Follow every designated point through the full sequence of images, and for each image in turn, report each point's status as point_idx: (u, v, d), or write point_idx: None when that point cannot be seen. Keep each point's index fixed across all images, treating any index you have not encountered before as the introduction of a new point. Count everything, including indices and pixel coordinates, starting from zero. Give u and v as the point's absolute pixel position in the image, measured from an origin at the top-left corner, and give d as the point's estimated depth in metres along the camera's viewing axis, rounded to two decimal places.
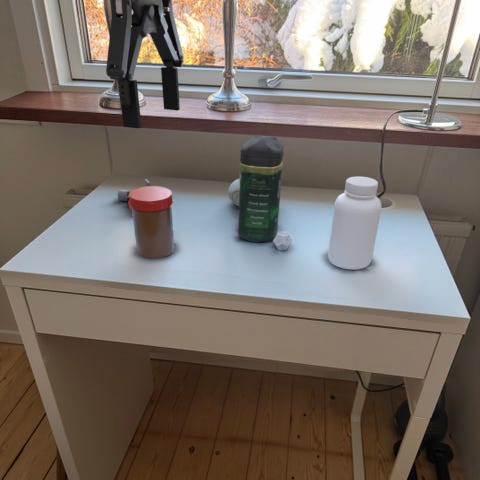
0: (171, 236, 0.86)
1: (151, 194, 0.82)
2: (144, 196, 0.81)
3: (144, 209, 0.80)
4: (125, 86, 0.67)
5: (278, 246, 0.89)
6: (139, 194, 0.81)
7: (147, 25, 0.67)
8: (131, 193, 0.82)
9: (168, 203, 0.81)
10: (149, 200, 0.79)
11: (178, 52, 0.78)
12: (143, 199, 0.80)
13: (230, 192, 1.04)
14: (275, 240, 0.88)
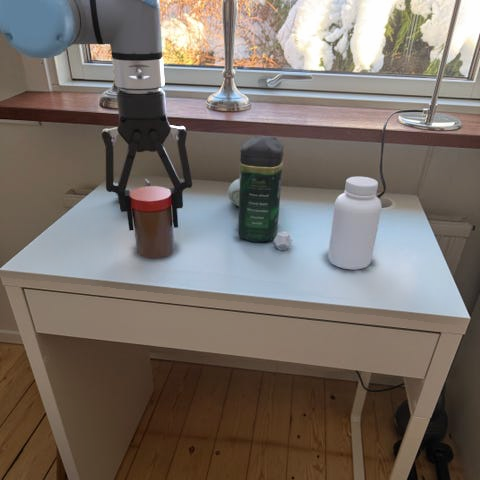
0: (171, 236, 0.86)
1: (151, 194, 0.82)
2: (144, 196, 0.81)
3: (144, 209, 0.80)
4: (118, 197, 0.81)
5: (278, 246, 0.89)
6: (139, 194, 0.81)
7: (130, 146, 0.75)
8: (131, 193, 0.82)
9: (168, 203, 0.81)
10: (149, 200, 0.79)
11: (184, 178, 0.81)
12: (143, 199, 0.80)
13: (230, 192, 1.04)
14: (275, 240, 0.88)
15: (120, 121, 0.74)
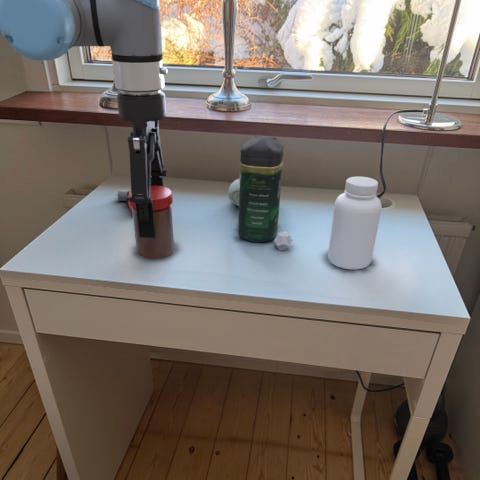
0: (171, 236, 0.86)
1: (153, 192, 0.82)
2: (158, 194, 0.81)
3: (171, 202, 0.82)
4: (145, 207, 0.76)
5: (279, 246, 0.89)
6: (152, 196, 0.80)
7: (153, 149, 0.75)
8: None
9: None
10: (169, 192, 0.82)
11: (161, 162, 0.86)
12: (166, 194, 0.81)
13: (230, 192, 1.04)
14: (276, 240, 0.88)
15: (144, 127, 0.72)
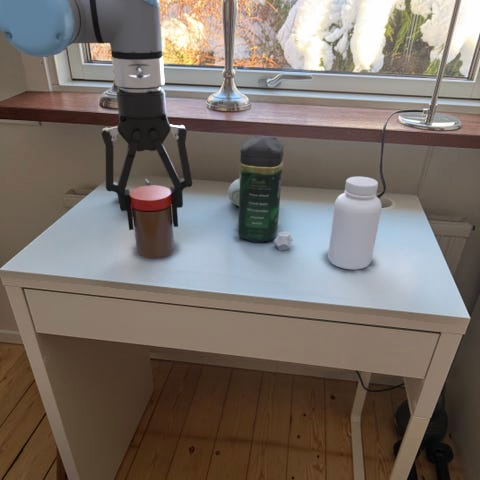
0: (171, 236, 0.86)
1: (153, 192, 0.82)
2: (158, 194, 0.81)
3: (171, 202, 0.82)
4: (118, 197, 0.81)
5: (279, 246, 0.89)
6: (152, 196, 0.80)
7: (130, 146, 0.75)
8: (148, 199, 0.79)
9: None
10: (169, 192, 0.82)
11: (184, 177, 0.81)
12: (166, 194, 0.81)
13: (230, 192, 1.04)
14: (276, 240, 0.88)
15: (120, 120, 0.74)
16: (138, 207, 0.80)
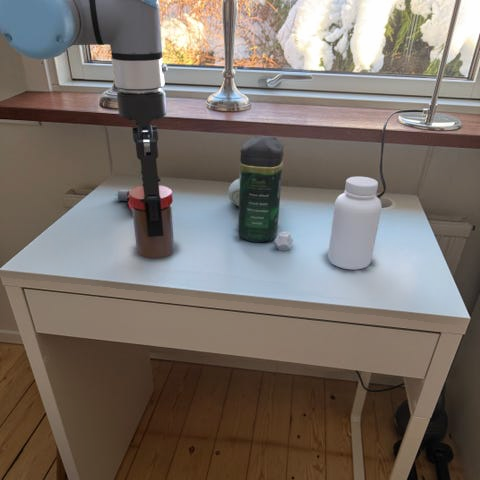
0: (171, 236, 0.86)
1: None
2: None
3: None
4: (156, 206, 0.78)
5: (279, 246, 0.89)
6: (161, 190, 0.82)
7: None
8: (169, 192, 0.82)
9: None
10: None
11: None
12: None
13: (230, 192, 1.04)
14: (276, 240, 0.88)
15: (149, 125, 0.72)
16: (168, 204, 0.81)
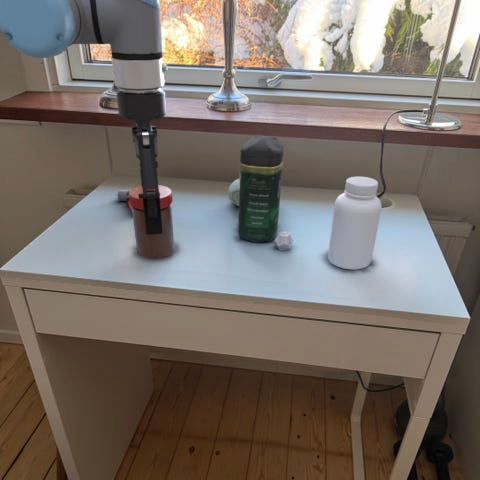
0: (171, 236, 0.86)
1: (149, 190, 0.82)
2: None
3: None
4: (155, 203, 0.75)
5: (279, 246, 0.89)
6: (161, 190, 0.82)
7: None
8: (169, 191, 0.82)
9: None
10: None
11: None
12: None
13: (230, 192, 1.04)
14: (276, 240, 0.88)
15: (149, 124, 0.72)
16: (168, 204, 0.81)
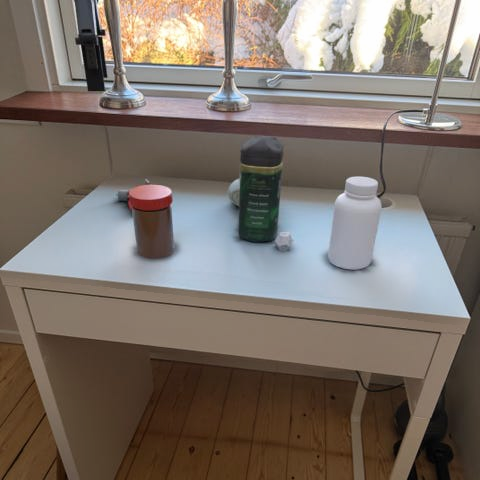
0: (171, 236, 0.86)
1: (149, 190, 0.82)
2: (156, 188, 0.83)
3: None
4: (93, 50, 0.71)
5: (280, 246, 0.89)
6: (161, 190, 0.82)
7: None
8: (169, 191, 0.82)
9: None
10: (151, 185, 0.85)
11: (99, 22, 0.83)
12: (157, 186, 0.84)
13: (230, 192, 1.04)
14: (277, 240, 0.88)
15: None
16: (168, 204, 0.81)
